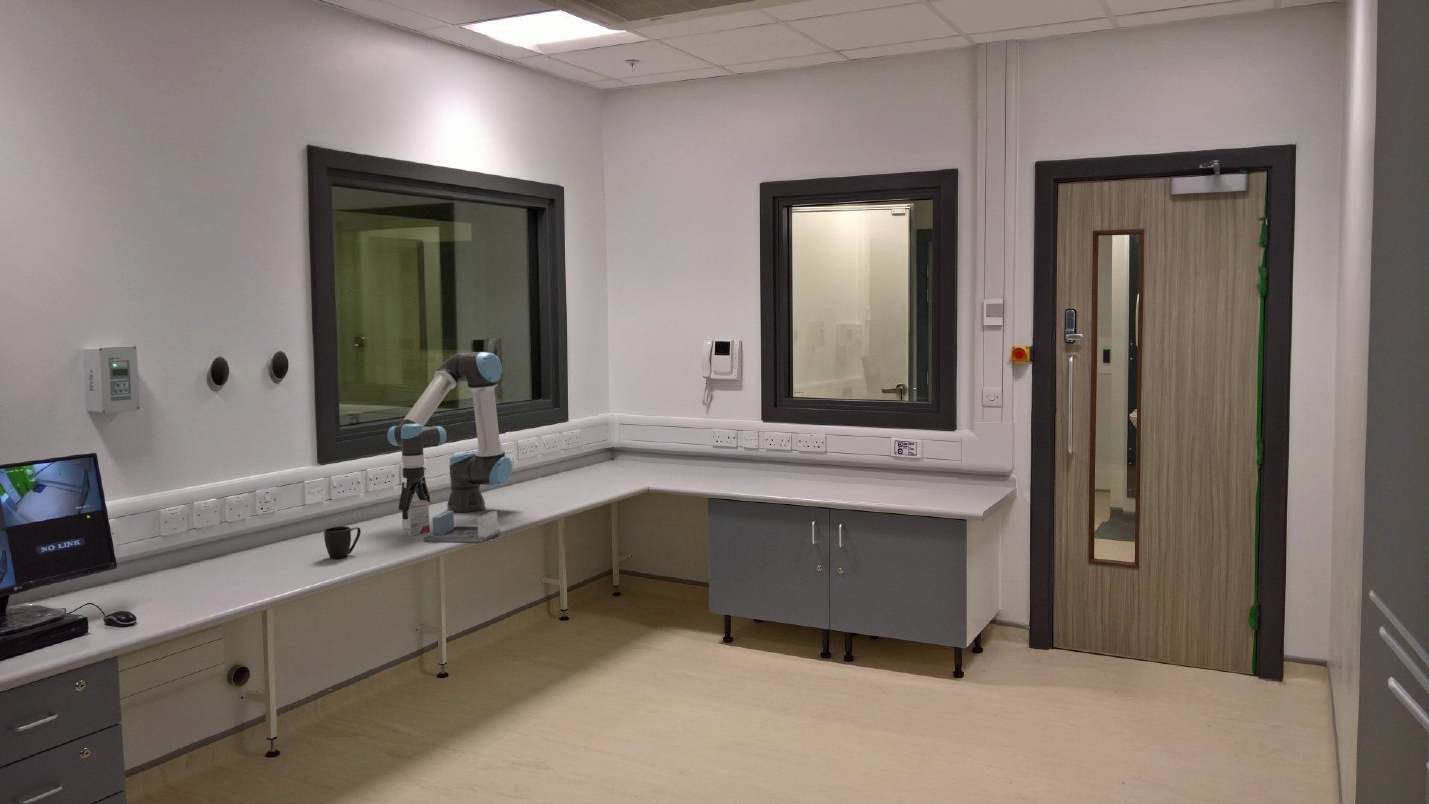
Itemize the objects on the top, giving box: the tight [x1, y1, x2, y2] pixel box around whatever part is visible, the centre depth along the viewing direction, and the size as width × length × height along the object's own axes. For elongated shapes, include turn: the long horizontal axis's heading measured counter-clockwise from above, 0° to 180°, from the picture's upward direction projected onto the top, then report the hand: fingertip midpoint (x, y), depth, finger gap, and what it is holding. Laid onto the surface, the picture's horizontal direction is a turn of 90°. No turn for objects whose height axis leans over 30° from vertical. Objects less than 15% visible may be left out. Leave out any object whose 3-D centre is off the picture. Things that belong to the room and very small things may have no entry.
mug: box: [323, 526, 361, 560], centre depth 332 cm, size 8×12×10 cm
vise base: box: [422, 510, 501, 543], centre depth 358 cm, size 16×22×8 cm
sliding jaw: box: [431, 510, 455, 535], centre depth 359 cm, size 12×2×7 cm, turn 170°
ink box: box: [401, 499, 431, 537], centre depth 366 cm, size 9×5×12 cm, turn 141°
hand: (415, 524), depth 366 cm, fingers open, 13 cm apart
